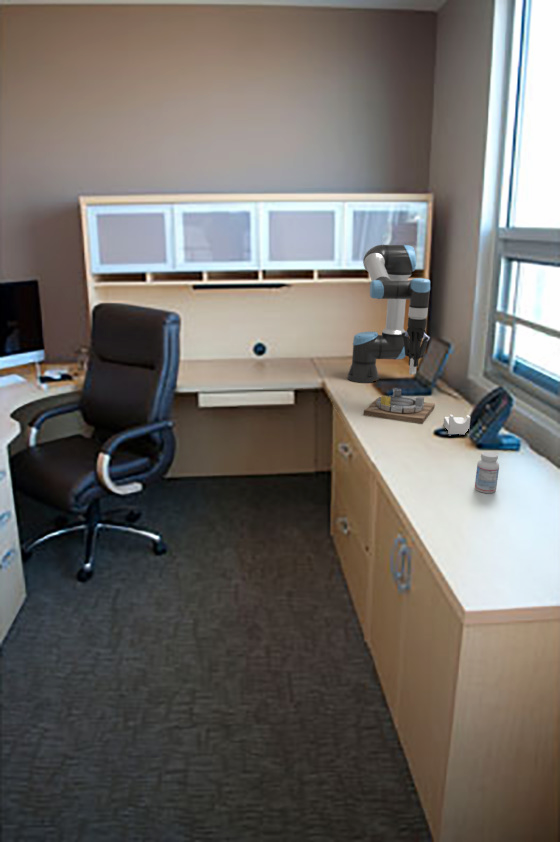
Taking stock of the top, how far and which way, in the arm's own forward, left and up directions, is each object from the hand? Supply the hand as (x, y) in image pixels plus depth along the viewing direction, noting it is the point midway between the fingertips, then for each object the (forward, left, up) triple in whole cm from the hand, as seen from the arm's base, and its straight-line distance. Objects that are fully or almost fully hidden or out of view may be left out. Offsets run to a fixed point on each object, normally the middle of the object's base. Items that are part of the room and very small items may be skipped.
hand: (412, 373), depth 265 cm
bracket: (+24, +23, -15) cm, 36 cm away
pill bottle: (+77, +40, -15) cm, 88 cm away
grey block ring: (+9, -2, -12) cm, 15 cm away
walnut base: (+9, -2, -14) cm, 17 cm away
